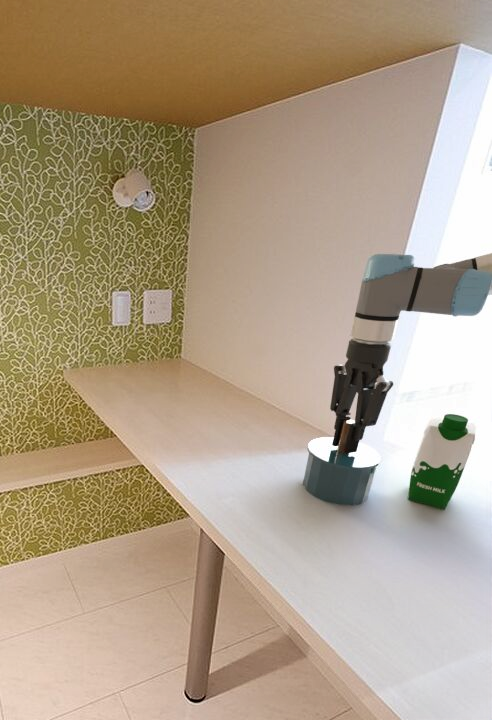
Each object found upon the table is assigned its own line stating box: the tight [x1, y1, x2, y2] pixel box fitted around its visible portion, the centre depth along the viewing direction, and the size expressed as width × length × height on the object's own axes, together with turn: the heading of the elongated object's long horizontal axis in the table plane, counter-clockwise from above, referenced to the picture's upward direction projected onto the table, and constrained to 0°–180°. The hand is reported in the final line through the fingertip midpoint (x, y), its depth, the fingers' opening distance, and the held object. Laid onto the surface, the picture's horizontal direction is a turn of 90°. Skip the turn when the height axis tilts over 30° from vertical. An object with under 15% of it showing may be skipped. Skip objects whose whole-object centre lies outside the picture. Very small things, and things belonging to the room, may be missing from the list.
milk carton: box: [407, 413, 476, 510], centre depth 93 cm, size 9×9×20 cm
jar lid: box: [306, 419, 382, 470], centre depth 94 cm, size 15×15×8 cm
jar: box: [302, 452, 377, 506], centre depth 97 cm, size 14×14×10 cm
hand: (344, 448), depth 95 cm, fingers open, 3 cm apart
